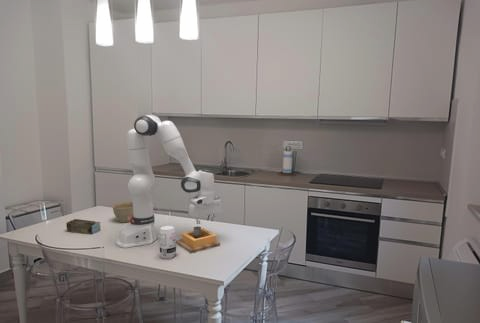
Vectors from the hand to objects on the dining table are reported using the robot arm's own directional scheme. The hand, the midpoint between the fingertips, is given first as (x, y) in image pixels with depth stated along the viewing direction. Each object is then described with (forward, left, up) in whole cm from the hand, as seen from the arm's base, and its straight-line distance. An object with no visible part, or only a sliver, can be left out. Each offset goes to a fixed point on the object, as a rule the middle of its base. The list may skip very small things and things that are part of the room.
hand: (205, 222), depth 193 cm
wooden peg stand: (-6, 0, -11) cm, 13 cm away
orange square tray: (-5, 0, -10) cm, 11 cm away
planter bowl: (-24, +67, -12) cm, 72 cm away
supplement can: (-26, -5, -12) cm, 29 cm away
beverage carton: (-52, +60, -12) cm, 80 cm away
